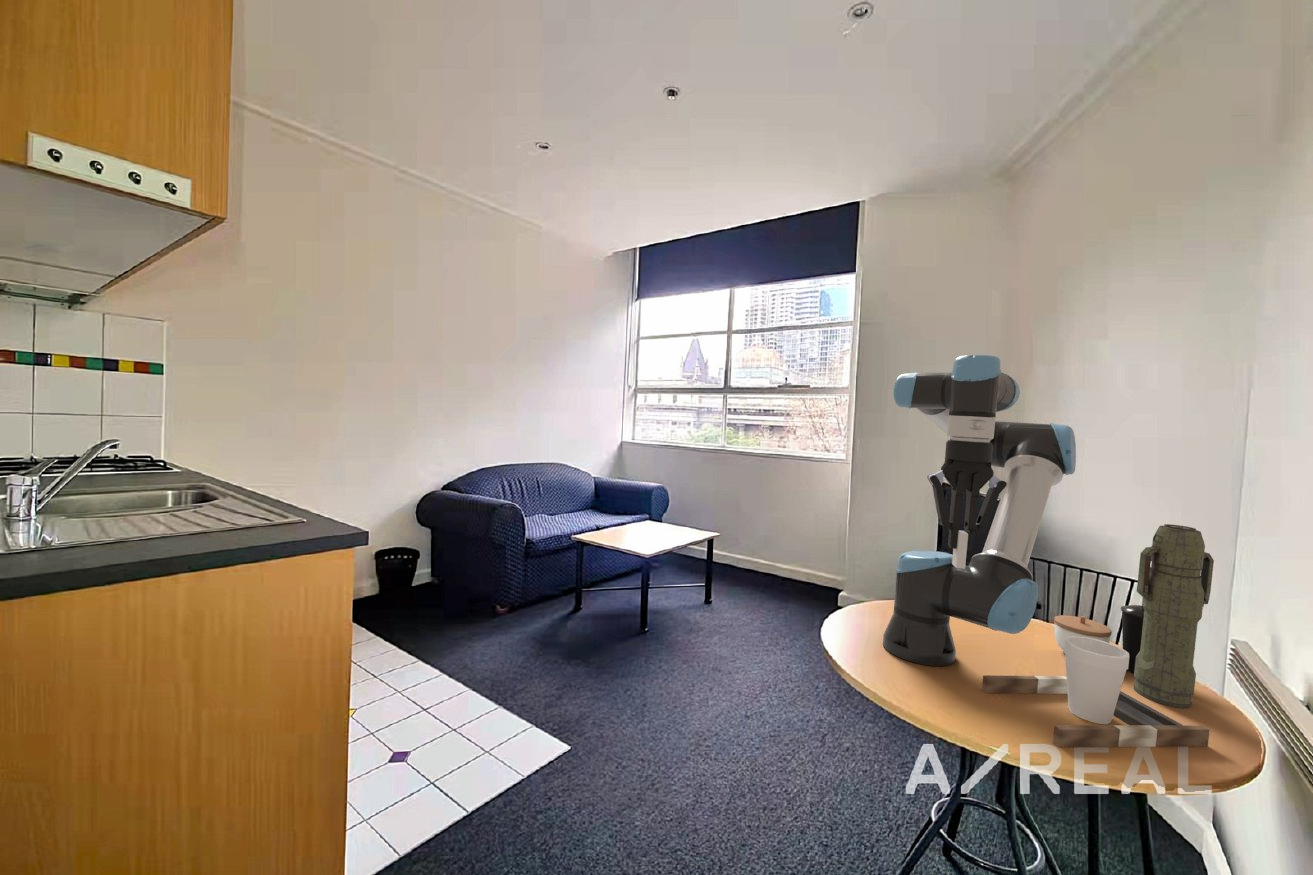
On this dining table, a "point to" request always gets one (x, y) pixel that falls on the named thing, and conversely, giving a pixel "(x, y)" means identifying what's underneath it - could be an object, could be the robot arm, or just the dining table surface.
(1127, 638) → the drinking cup
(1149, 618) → the thermos
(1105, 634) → the lidded jar
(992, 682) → the lane
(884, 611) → the dining table surface
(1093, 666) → the foam cup
